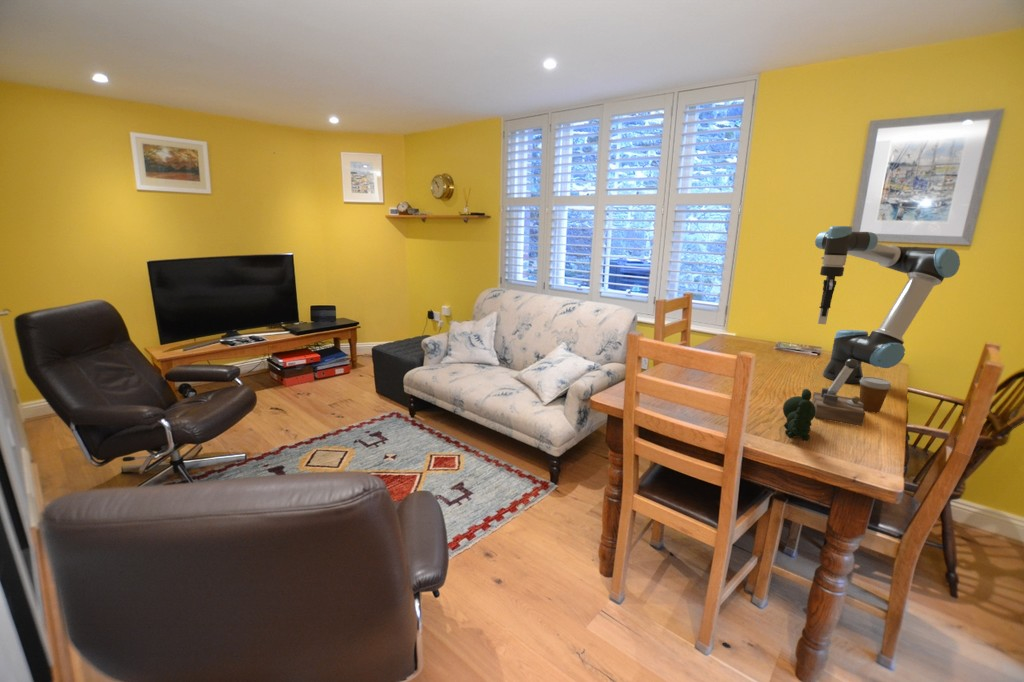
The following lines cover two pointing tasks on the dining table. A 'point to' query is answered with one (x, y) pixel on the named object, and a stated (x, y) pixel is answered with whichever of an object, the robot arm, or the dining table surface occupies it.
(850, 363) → the lever
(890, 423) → the dining table surface
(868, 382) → the disposable coffee cup
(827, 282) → the robot arm
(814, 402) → the base
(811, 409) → the toy figurine
